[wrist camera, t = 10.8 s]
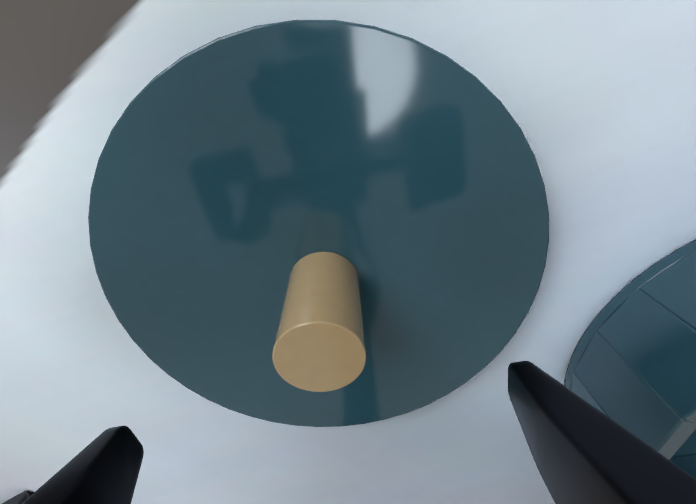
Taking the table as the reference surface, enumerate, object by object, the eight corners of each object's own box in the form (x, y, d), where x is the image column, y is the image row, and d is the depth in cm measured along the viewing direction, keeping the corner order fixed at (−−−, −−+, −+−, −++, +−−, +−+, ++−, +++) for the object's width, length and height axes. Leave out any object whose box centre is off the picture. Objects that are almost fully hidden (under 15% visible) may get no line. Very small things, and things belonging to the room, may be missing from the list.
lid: (526, 377, 18) (592, 487, 13) (207, 428, 19) (164, 545, 14) (546, -38, 10) (720, -123, 6) (8, 90, 11) (-221, 107, 7)
